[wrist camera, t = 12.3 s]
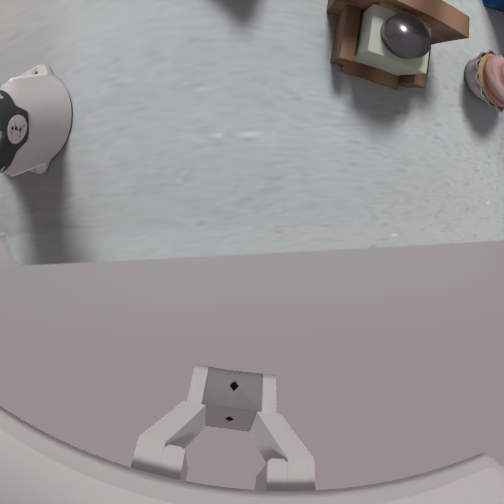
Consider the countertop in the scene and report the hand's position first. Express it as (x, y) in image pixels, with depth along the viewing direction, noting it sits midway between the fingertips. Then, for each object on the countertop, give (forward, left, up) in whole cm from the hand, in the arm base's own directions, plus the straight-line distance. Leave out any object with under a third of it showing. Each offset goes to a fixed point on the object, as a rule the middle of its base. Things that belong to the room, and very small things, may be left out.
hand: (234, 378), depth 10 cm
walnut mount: (+12, +20, -31) cm, 39 cm away
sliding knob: (+12, +20, -31) cm, 39 cm away
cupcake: (+30, +23, -31) cm, 49 cm away
